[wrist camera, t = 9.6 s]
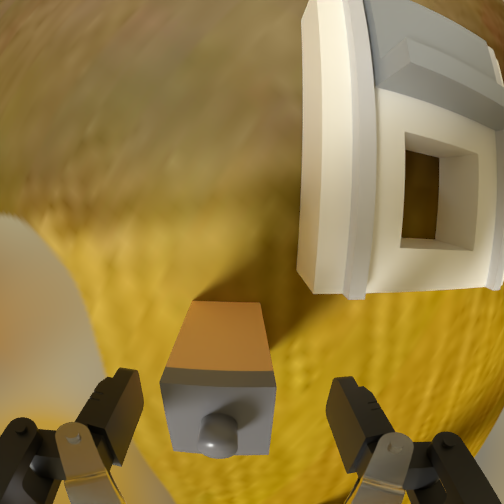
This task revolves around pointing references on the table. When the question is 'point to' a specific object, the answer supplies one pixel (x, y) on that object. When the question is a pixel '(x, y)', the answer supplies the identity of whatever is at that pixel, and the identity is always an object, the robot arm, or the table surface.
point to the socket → (387, 174)
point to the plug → (220, 382)
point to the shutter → (433, 60)
